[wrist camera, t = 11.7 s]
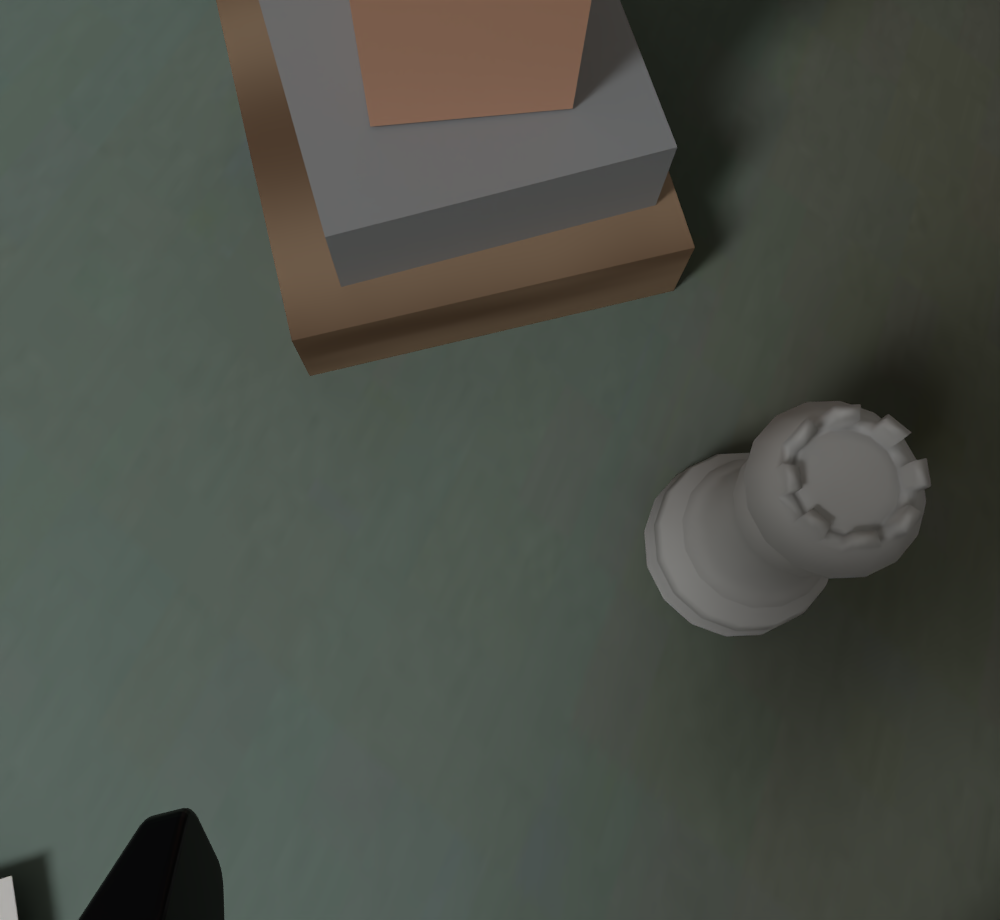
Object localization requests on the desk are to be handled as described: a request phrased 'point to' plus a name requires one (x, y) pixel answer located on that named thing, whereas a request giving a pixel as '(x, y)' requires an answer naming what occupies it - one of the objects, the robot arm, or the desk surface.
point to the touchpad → (7, 900)
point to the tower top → (464, 149)
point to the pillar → (467, 57)
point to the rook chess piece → (786, 517)
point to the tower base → (438, 286)
